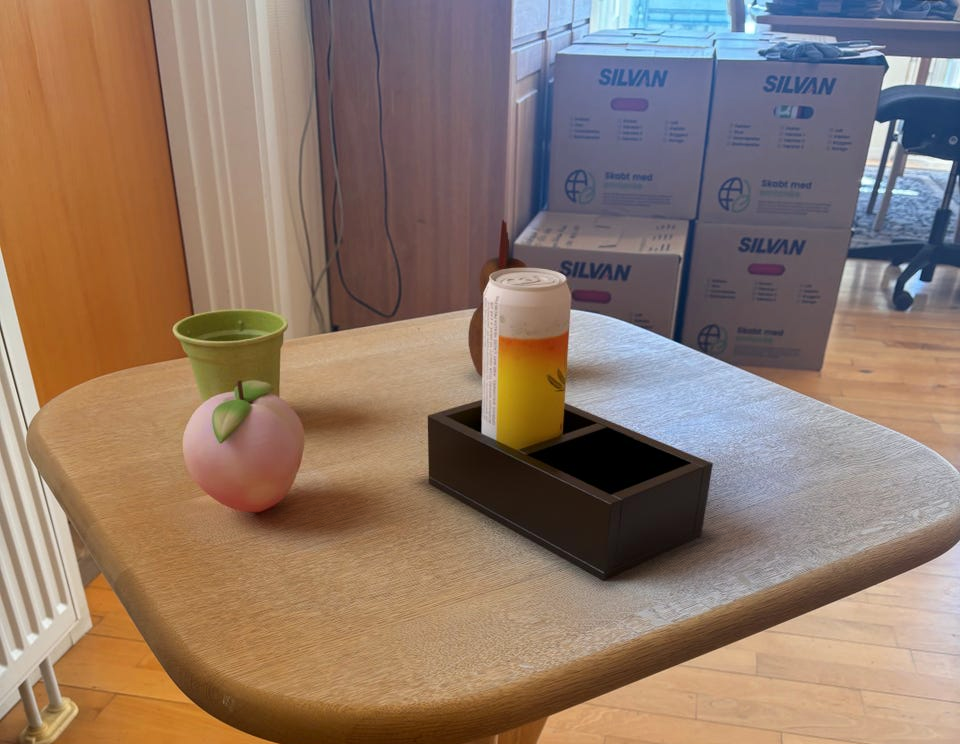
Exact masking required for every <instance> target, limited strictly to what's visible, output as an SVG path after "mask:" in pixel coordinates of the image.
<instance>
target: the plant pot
mask: <svg viewBox="0 0 960 744" xmlns="http://www.w3.org/2000/svg"><path fill="white" fill-rule="evenodd" d="M288 325H289V322H288V319H287V318H286V317H284V316H283V315H281V314H278V313H276V312H273V311H267V310H262V309H254V308H253V309H249V308H235V309H220V310H219V309H217V310H211V311H208V312H207V311H205V312H201V313H197V314H194V315H190V316H188V317H185V318H183V319H181V320H179V321H178V322H176V323H175V324H174V325H173V327H172V333H173V335H174V338H177V339H178V340H179V342H180V345H181V346H182V349H183V351H184V353H185V354H186V355H187V357H188V360H189V363H190V366H191V367H190V368H191V371H192V373H193V376H194V380H195V383H196V386H197V389H198V393H199V395H200V399H201V402H202V404H203V403H204V402H205V401H207V400H208V399H210V398H212V397H214V396H216V395H219V394H223V393H227V392H232V391H234V388H235V387H236V386H237V380H241V381H242V383H243V382H246V381H253V380H255V381H262V382H265V383H268V384H270V385H272V386H273V387H274V390H272V391H270V392H269V393H271V394H274V395H276V396H278V397H279V398H280V385H281V383H280V382H281V381H280V380H281V352H282V351H281V350H282V346H283V345H284V336H285V335H284V334H285V332H286V331H287V330H288V327H289V326H288Z"/></svg>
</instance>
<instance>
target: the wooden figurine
mask: <svg viewBox="0 0 960 744" xmlns="http://www.w3.org/2000/svg"><path fill="white" fill-rule="evenodd" d="M510 248H511V247H510V239H509V232H508V229H507V221H505V219H501V228H500V240H499V252H498V257H493V258H489V259H487V260H486V261H485V262H484V264H483V265H482V266H481V270H480V273H479V281H478V284H479V285H478V287H479V291H480V295H481V296H482V297H483V293H484V291H485V289H486V286H487V284H488V282H489V277H490V275H491V274H492V273H494V272H496V271H499V270H504V269H510V268H528V267H527V265H526V263H525V262H524V261H522V260H520V259H518V258H515V257H511V252H510V251H511V250H510ZM467 340H468V342H467V343H468V349H469V354H470V359H471V361H472V365H473V366H474V368H475V370H476V373H477V374H478V375H479V376H480V377H481V378H482V365H483V301H481V302H480V304H479V305H478V306H477V307H476V309H475V310H474V311H473V313H472V316H471V319H470V322H469V328H468V338H467Z"/></svg>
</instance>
